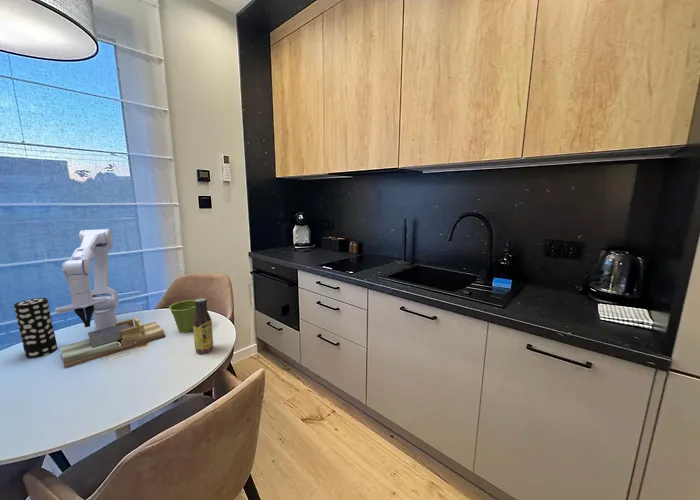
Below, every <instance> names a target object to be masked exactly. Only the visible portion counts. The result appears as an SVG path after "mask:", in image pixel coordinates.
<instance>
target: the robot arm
mask: <svg viewBox="0 0 700 500" xmlns="http://www.w3.org/2000/svg"><path fill="white" fill-rule="evenodd" d="M78 240H79V241H80V246H79V247H77V248H75V249H74V251H73V252H72V254H71V256H70V258H69V260H66V261H64V262H63V263H62V265H61V272H62V274H63V276H64V278H65V282H68V288H69V292H70V293H69V294H70V297H71V298H70V299H71V303H70V304H66V305H63V306H59V307H55V313H56V315H61V314H64V313H67V312H72V311H74V313H75V315H77V316H78V318H79V319H80V320H81V321H82V322H83V325H84V328H89V327H91V320H92V316H93V320H94V324H95V326H94V327H93V331H97V330H100V329H104V328H108V327H112V326H116V323H118V321H117V316H116V315H117V313H116V309H117V307H119V296H118V292H117V290H115V289H113V288H111V287H109V285H110V283H109V251H110V250H111V249H112V248H113V244H114V243H113V240H114V239H113V233H112V230H110V229H109V228H105V229H104V228H102V229H81V230H80V231H79V233H78ZM92 260H93V276H94V277H93V278H94V279H93V282H94V283H93V284H94V286H93V289H92V285H91V281H90V275H89V274H90V273H91V270H92V269H91V267H92V263H91V261H92Z"/></svg>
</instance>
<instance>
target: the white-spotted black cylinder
mask: <svg viewBox="0 0 700 500" xmlns="http://www.w3.org/2000/svg"><path fill="white" fill-rule="evenodd" d="M13 308H14V312H15V317H16V321H17V325H18V329H19V334H20V338H21V342H22V347H23V351H24V355H25V358H26V359H37V358H40V357H45V356H47V355H50V354H53V353H54V352H56V351H57V350H58V343H57V338H56V334H55V329H54V324H53V319H52V316H51V315H52V314H51V310H50V305H49V301H48V298H47V297H38V298H30V299H26V300H22V301H19V302H16V303H14V304H13Z"/></svg>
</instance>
